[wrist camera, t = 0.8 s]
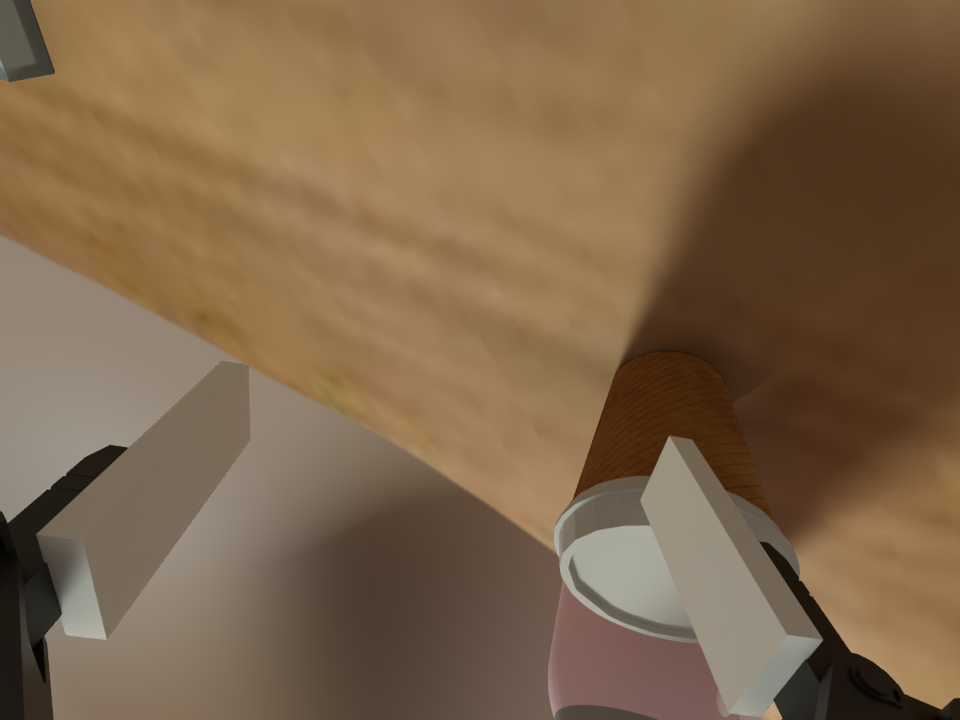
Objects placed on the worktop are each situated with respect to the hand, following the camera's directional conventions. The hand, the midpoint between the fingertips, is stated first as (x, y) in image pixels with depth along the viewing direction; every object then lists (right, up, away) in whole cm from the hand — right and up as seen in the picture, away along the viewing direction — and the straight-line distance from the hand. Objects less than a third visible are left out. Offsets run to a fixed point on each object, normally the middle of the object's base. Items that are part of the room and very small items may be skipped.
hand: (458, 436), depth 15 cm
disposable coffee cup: (+12, +1, +13) cm, 18 cm away
